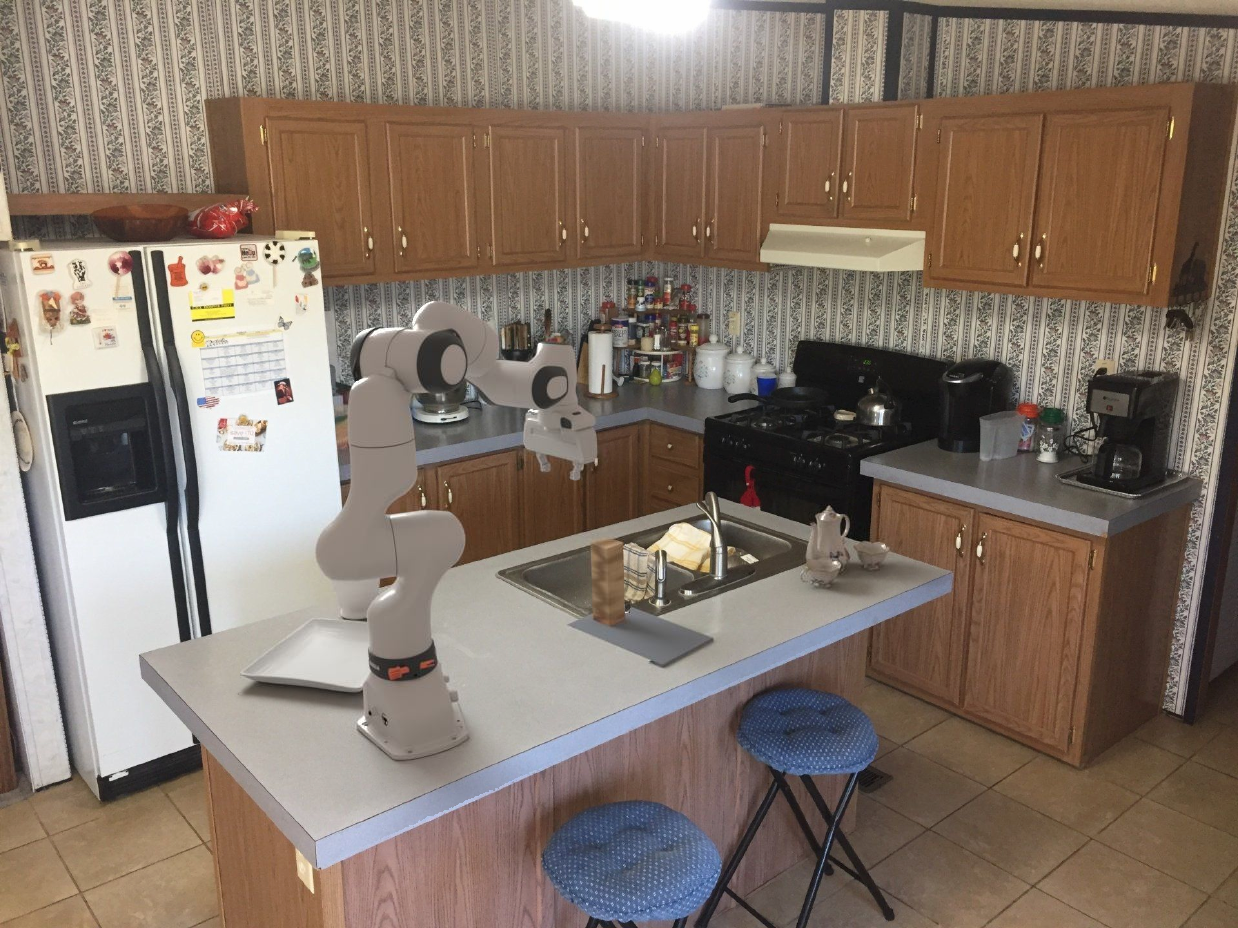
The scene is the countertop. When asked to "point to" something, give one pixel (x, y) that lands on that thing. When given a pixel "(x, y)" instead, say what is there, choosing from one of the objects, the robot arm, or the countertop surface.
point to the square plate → (317, 657)
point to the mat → (646, 636)
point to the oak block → (608, 581)
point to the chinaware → (836, 550)
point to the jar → (355, 597)
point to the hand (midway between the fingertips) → (560, 475)
